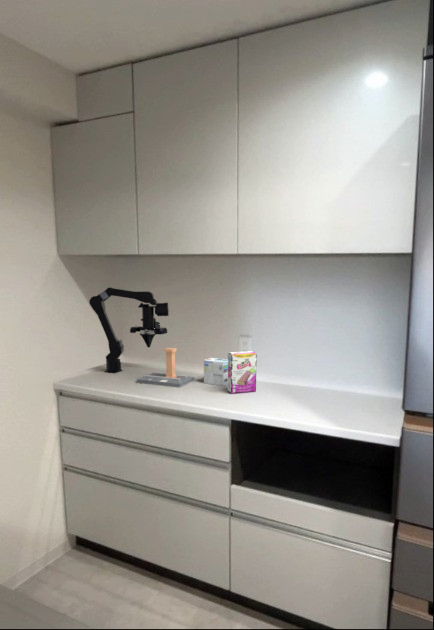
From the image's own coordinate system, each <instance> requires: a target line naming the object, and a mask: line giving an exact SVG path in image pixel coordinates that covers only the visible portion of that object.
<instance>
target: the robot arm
mask: <svg viewBox="0 0 434 630" xmlns="http://www.w3.org/2000/svg"><path fill="white" fill-rule="evenodd" d="M112 296H113V297H120V298H127V299H132V300H136V301H139V302H140V304H139V305H138V306H137V307H138V308H139V309H140V308H141V312H142V314H141V315H142V317H141V319H140V321H141V322H142V326H139V325H138V326H137V325H135V326H132V327H130V329H129V333H130V334H136V333H137V332H140V333H139V336H140V337H142V339H143V341H144V343H145V345H146V347H147V348H151V346H152V342H153V339H154V337H155V336H156V335H166V334H168V329H167V327H161V325H159V324H160V322H159V321H157V320H156V318H155V315H157V317H169V316H170V315H169V314H170V308H169V303H168V302H158V301H157V300H156V299H155V296H154V293H153V292H152V291H150V290H148V291H147V290H143V291H139V290H138V291H134V290H128V289H122V288H116V287H113V286H111V287H107V288H106V289H105V290H103V291H102V292H100V293H99V294H97V295H94V296H92V297H90V299H89V300H88V301H89V306H91V308H92V310H93V311H94V312H95V314H96V315H97V317H98V319H99V322H100V325H101V327H102V329H103V332H104V334H105V336H106V338H107V344H108V350H109V353H107V355H105V361H106V363H105V365H106V366H105V368H106V369H105V370H104V372H105V373H111V374H112V373H113V374H115V373H119V372H121V371H123V369H122V362H121V358H120V357H121V355H123V353H124V351H125V349H124V348H125V346H124V344H123V340H122V339H120V340H119V339H118V338H117V336H116V333H115V331H114V328H113V326H112V324H111V321H110V319H109V316H108V314H107V312H106V303H105V301H107V300H108V299H109V298H110V297H112ZM154 328H155V329H154Z"/></svg>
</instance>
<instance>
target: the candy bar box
mask: <svg viewBox="0 0 434 630" xmlns="http://www.w3.org/2000/svg"><path fill="white" fill-rule="evenodd" d="M257 354H258V353H257V352H255V351H252V350H249V351H230V352H229V351H228V352H227V359H228V384H227V392H229V393H230V394H231V395H232V394H234V395H235V394H241V393H242V394H243V393H254V392H256V391H257V361H258V360H257V357H258V356H257Z"/></svg>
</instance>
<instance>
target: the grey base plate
mask: <svg viewBox="0 0 434 630" xmlns="http://www.w3.org/2000/svg"><path fill="white" fill-rule="evenodd" d="M175 375H177V378H171V377H165V376H166V372H165V373H164V372H156V371H155V372H154V371H153V372H151V373H149V374H145V375H143V376H142V377H139V378H136V383H138V384H147V385H154V386H155V385H156V386H163V387H174V388H182V387H183V386H185V385H187V384H189V383H192V382H193V381H195V376H189V375H186V374H176V373H175Z"/></svg>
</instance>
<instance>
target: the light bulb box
mask: <svg viewBox="0 0 434 630" xmlns="http://www.w3.org/2000/svg"><path fill="white" fill-rule="evenodd" d="M203 383H204V384H209V385H215V386H221V387H225V386H228V358H225V359H224V358H216V357H209V358H206V359H203Z"/></svg>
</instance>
